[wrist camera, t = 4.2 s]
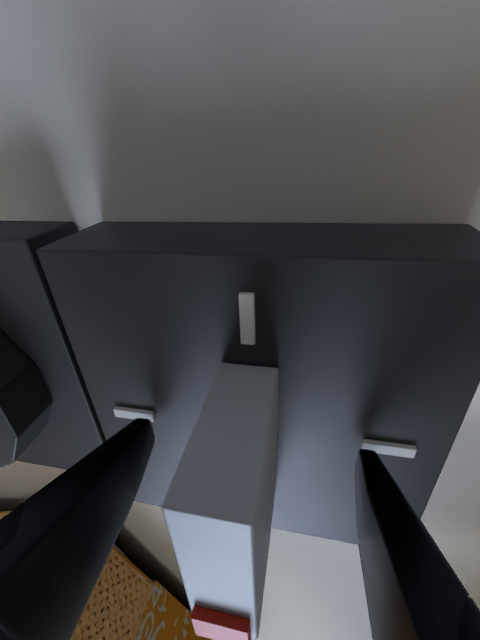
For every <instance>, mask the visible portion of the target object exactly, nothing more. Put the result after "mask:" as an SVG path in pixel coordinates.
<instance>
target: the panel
mask: <svg viewBox="0 0 480 640" xmlns="http://www.w3.org/2000/svg"><path fill="white" fill-rule="evenodd" d="M37 254H38V257H39V260H40V262H41V265H42V268H43V270H44V273H45V276H46V278H47V281H48V284H49V287H50V289H51V292H52V295H53V297H54V300H55V303H56V306H57V308H58V311H59V314H60V316H61V319H62V322H63V324H64V327H65V330H66V333H67V335H68V338H69V341H70V343H71V346H72V349H73V351H74V354H75V357H76V360H77V362H78V365H79V368H80V370H81V373H82V376H83V379H84V381H85V384H86V387H87V389H88V392H89V395H90V397H91V400H92V403H93V406H94V408H95V411H96V414H97V416H98V419H99V422H100V424H101V427H102V430H103V433H104V435H105V438H106V440H108V439H109V438H110V437H112V436H113V435H114V434H116V433H117V432H118V431H120V430H121V429H122V428H124V427H125V426H126V425H128V424H129V423H130V422H132V421H133V420H135V419H136V418H144V419H149V420H150V421H151V424H152V428H153V432H154V435H155V443H154V446H153V449H152V452H151V455H150V458H149V461H148V464H147V467H146V470H145V473H144V476H143V478H142V481H141V484H140V487H139V490H138V492H137V495H136V497H135V499H134V501H137V502H142V503H147V504H152V505H158V506H162V503H163V500H164V498H165V496H166V493H167V491H168V488H169V486H170V484H171V481H172V479H173V476H174V474H175V472H176V469H177V467H178V464H179V462H180V459H181V457H182V455H183V452H184V450H185V447H186V445H187V443H188V440H189V438H190V435H191V433H192V431H193V428H194V426H195V423H196V421H197V419H198V416H199V414H200V411H201V409H202V407H203V404H204V402H205V399H206V397H207V395H208V392H209V390H210V387H211V385H212V383H213V380H214V378H215V375H216V373H217V371H218V368H219V366H220V364H221V363H231V364H241V365H252V366H262V367H272V368H278V370H279V386H278V428H277V471H276V490H275V498H274V507H273V515H272V524H271V528H276V529H281V530H286V531H291V532H297V533H302V534H307V535H312V536H317V537H322V538H327V539H333V540H338V541H343V542H348V543H353V544H358V538H357V526H356V504H355V479H354V470H355V464H356V459H357V455H358V451H359V449H368V450H373V451H375V452H376V453H377V454H378V456H379V457H380V459H381V460H382V462H383V463H384V465H385V466H386V468H387V470H388V471H389V473H390V474H391V476H392V477H393V479H394V480H395V482H396V483H397V485H398V486H399V488H400V489H401V491H402V493H403V494H404V496H405V497H406V499H407V500H408V502H409V503H410V505H411V506H412V508H413V509H414V511H415V512H416V514H417V516H418V517H419V519H421V517H422V514H423V512H424V510H425V507H426V505H427V503H428V501H429V498H430V496H431V494H432V491H433V489H434V487H435V484H436V482H437V480H438V477H439V475H440V473H441V470H442V468H443V466H444V463H445V461H446V459H447V457H448V454H449V452H450V450H451V447H452V445H453V443H454V440H455V438H456V436H457V433H458V431H459V429H460V426H461V424H462V422H463V419H464V417H465V415H466V412H467V410H468V408H469V406H470V403H471V401H472V399H473V396H474V394H475V392H476V389H477V387H478V385H479V382H480V231H478V230H477V229H475V228H473V227H472V226H470V225H468V224H360V223H220V222H100V223H97V224H95V225H93V226H90V227H88V228H86V229H83V230H81V231H79V232H76V233H74V234H72V235H69V236H67V237H65V238H62V239H60V240H57V241H55V242H53V243H50V244H48V245H46V246H43V247H41V248H39V249H37Z"/></svg>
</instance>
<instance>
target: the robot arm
mask: <svg viewBox="0 0 480 640" xmlns="http://www.w3.org/2000/svg"><path fill="white" fill-rule="evenodd" d="M154 443H155V435H154V432H153V428H152V424H151V421H150V420H149V419H144V418H136V419H135V420H133V421H132V422H130V423H129V424H128V425H126V426H125V427H124V428H122V429H121V430H120V431H118V432H117V433H116V434H114V435H113V436H112V437H110V438H109V439H108V440H106V441H105V442H104V443H102V444H101V445H100V446H98V447H97V448H96V449H94V450H93V451H92V452H90V453H89V454H88V455H86V456H85V457H84V458H82V459H81V460H80V461H78V462H77V463H76V464H74V465H73V466H72V467H70V468H69V469H68V470H66V471H65V472H64V473H62V474H61V475H60V476H58V477H57V478H56V479H54V480H53V481H52V482H50V483H49V484H48V485H46V486H45V487H44V488H42V489H41V490H39V491H38V492H37V493H35V494H34V495H33V496H31V497H30V498H29V499H27V500H26V501H25V503H22V504H21V505H19V506H18V507H17V508H15V509H14V510H13V511H11V512H10V513H9V514H7V515H6V516H4V517H3V518H2V519H0V640H70V639H71V637H72V635H73V633H74V630H75V628H76V626H77V624H78V622H79V619H80V617H81V615H82V613H83V611H84V609H85V606H86V604H87V602H88V600H89V598H90V595H91V593H92V591H93V589H94V587H95V585H96V582H97V580H98V578H99V576H100V574H101V571H102V569H103V567H104V565H105V563H106V561H107V558H108V556H109V554H110V552H111V550H112V547H113V545H114V543H115V541H116V539H117V537H118V534H119V532H120V530H121V528H122V526H123V524H124V521H125V519H126V517H127V515H128V513H129V510H130V508H131V506H132V504H133V502H134V499H135V497H136V495H137V492H138V490H139V487H140V484H141V481H142V478H143V476H144V473H145V470H146V467H147V464H148V461H149V458H150V455H151V452H152V449H153V446H154ZM354 479H355V504H356V526H357V538H358V546H359V552H360V559H361V565H362V572H363V579H364V585H365V592H366V598H367V605H368V611H369V618H370V624H371V631H372V638H373V640H480V610H479V609H478V607H477V606H476V604H475V603H474V601H473V600H472V598H468V596H469V594H468V592H467V591H466V589H465V588H464V586H463V585H462V583H461V581H460V580H459V578H458V577H457V575H456V574H455V572H454V571H453V569H452V568H451V566H450V565H449V563H448V562H447V560H446V558H445V557H444V555H443V554H442V552H441V551H440V549H439V548H438V546H437V545H436V543H435V542H434V540H433V539H432V537H431V535H430V534H429V532H428V531H427V529H426V528H425V526H424V525H423V523H422V522H421V520H420V519H419V517H418V516H417V514H416V512H415V511H414V509H413V508H412V506H411V505H410V503H409V502H408V500H407V499H406V497H405V496H404V494H403V493H402V491H401V489H400V488H399V486H398V485H397V483H396V482H395V480H394V479H393V477H392V476H391V474H390V473H389V471H388V470H387V468H386V466H385V465H384V463H383V462H382V460H381V459H380V457H379V456H378V454H377V453H376V452H375V451H373V450H368V449H359V451H358V455H357V459H356V464H355V470H354Z"/></svg>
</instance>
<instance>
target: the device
mask: <svg viewBox="0 0 480 640" xmlns="http://www.w3.org/2000/svg"><path fill="white" fill-rule="evenodd" d="M10 512H11V511H1V512H0V519H2V518H3V517H4V516H6V515H7V514H9V513H10ZM191 614H192V613H191V612H190V611H189V610H188V609H187V608H185V607H184V606H183V605H182V604H181V603H180V602H179V601H178V600H177V599H176V598H175V597H174V596H172V595H171V594H170V593H169V592H168V591H167V590H166V589H165V588H164V587H163V586H162V585H161V584H159V583H158V582H157V581H153V580H151V579H150V578H148V577H147V576H146V575H145V574H144V573H143V572H142V571H141V570H140V569H138V568H137V567H136V566H135V565H134V564H133V563H132V562H131V561H130V560H128V558H127V556H126V555H125V554H124V553H123V552H122V551H121V550H120V549H119V548H118V547H117V546H116V545H115V544H114V545H113V547H112V550H111V552H110V554H109V556H108V558H107V561H106V563H105V565H104V567H103V569H102V571H101V574H100V576H99V578H98V580H97V582H96V585H95V587H94V589H93V591H92V593H91V595H90V598H89V600H88V602H87V604H86V606H85V609H84V611H83V613H82V615H81V617H80V619H79V622H78V624H77V626H76V628H75V630H74V633H73V635H72V637H71V639H70V640H213V639H209V638H206V637H202V636H198V635H196V634H195V631H194V627H193V624H192V621H191Z"/></svg>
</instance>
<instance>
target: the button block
mask: <svg viewBox="0 0 480 640" xmlns="http://www.w3.org/2000/svg"><path fill="white" fill-rule="evenodd" d="M76 232H77V231H76V227H75V224H74V222H58V221H0V467H3V466H6V465H9V464H11V463H13V462H15V460H17V461H23V462H28V463H34V464H39V465H45V466H50V467H56V468H61V469H67V470H68V469H69V468H70V467H72V466H73V465H74V464H76V463H77V462H78V461H80V460H81V459H82V458H84V457H85V456H86V455H88V454H89V453H90V452H92V451H93V450H94V449H96V448H97V447H98V446H100V445H101V444H102V443H104V442H105V441H106V438H105V435H104V433H103V430H102V427H101V424H100V422H99V419H98V416H97V414H96V411H95V408H94V406H93V403H92V400H91V397H90V395H89V392H88V389H87V387H86V384H85V381H84V379H83V376H82V373H81V370H80V368H79V365H78V362H77V360H76V357H75V354H74V351H73V349H72V346H71V343H70V341H69V338H68V335H67V333H66V330H65V327H64V324H63V322H62V319H61V316H60V314H59V311H58V308H57V306H56V303H55V300H54V297H53V295H52V292H51V289H50V287H49V284H48V281H47V278H46V276H45V273H44V270H43V268H42V265H41V262H40V260H39V257H38V254H37V249H39V248H41V247H43V246H46V245H48V244H50V243H53V242H55V241H57V240H60V239H62V238H65V237H67V236H69V235H72V234H74V233H76Z"/></svg>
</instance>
